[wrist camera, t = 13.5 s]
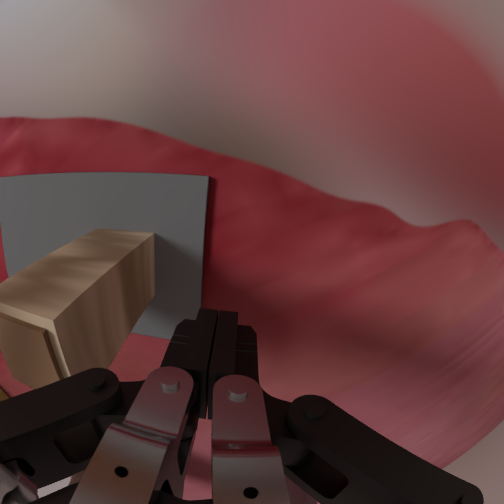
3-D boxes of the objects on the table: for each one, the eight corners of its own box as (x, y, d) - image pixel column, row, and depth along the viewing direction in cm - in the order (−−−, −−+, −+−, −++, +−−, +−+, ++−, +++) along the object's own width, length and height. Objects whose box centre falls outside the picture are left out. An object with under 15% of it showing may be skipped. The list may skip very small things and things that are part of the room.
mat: (209, 176, 15) (208, 176, 15) (200, 340, 18) (199, 343, 18) (1, 177, 14) (-2, 177, 14) (16, 299, 17) (14, 301, 17)
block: (154, 232, 16) (48, 324, 6) (155, 293, 17) (82, 414, 7) (98, 227, 15) (-22, 298, 6) (102, 285, 17) (11, 381, 7)
